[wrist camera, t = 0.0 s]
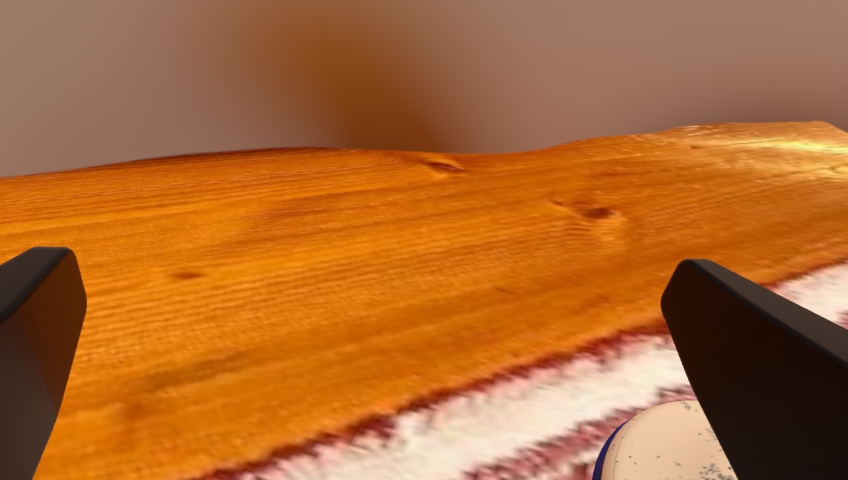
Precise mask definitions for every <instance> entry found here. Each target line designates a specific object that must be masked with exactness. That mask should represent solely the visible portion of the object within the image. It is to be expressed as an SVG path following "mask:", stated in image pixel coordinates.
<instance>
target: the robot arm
mask: <svg viewBox="0 0 848 480" xmlns="http://www.w3.org/2000/svg"><path fill="white" fill-rule="evenodd" d="M86 308H87V298H86V293H85V289H84V285H83V281H82V278H81V274H80V270H79V266H78V263H77V259H76V256H75V254H74V252H73V251H72V250H71V249H69V248H67V247H33V248H31V249H29V250H27V251H25V252H23V253H22V254H20V255H18V256H16V257H14V258H12V259H11V260H9V261H7V262H5V263H3V264H1V265H0V480H32V479H33V477H34V474H35V472H36V469H37V467H38V464H39V462H40V459H41V457H42V455H43V452H44V450H45V447H46V445H47V442H48V440H49V437H50V435H51V432H52V430H53V427H54V424H55V422H56V419H57V416H58V413H59V410H60V406H61V403H62V400H63V396H64V392H65V389H66V385H67V381H68V378H69V374H70V370H71V366H72V363H73V359H74V355H75V352H76V348H77V344H78V340H79V337H80V333H81V329H82V326H83V322H84V318H85V314H86ZM661 311H662V314H663V316H664V319H665V321H666V324H667V326H668V329H669V332H670V334H671V337H672V339H673V342H674V344H675V347H676V349H677V352H678V355H679V357H680V360H681V362H682V365H683V367H684V370H685V373H686V375H687V378H688V380H689V382H690V385H691V387H692V390H693V392H694V394H695V396H696V398H697V400H698V402H699V404H700V406H701V408H702V410H703V412H704V414H705V416H706V418H707V420H708V422H709V424H710V426H711V428H712V430H713V432H714V434H715V436H716V438H717V440H718V442H719V444H720V446H721V448H722V450H723V452H724V454H725V456H726V457H727V459H728V461H729V463H730V465H731V467H732V469H733V471H734V473H735V475H736V477H737V479H738V480H848V330H847V329H845V328H843V327H841V326H839V325H837V324H835V323H833V322H831V321H829V320H827V319H825V318H823V317H821V316H819V315H817V314H815V313H813V312H811V311H809V310H808V309H806V308H804V307H802V306H800V305H798V304H796V303H794V302H792V301H790V300H788V299H786V298H784V297H782V296H780V295H778V294H776V293H774V292H772V291H770V290H768V289H766V288H764V287H762V286H760V285H758V284H756V283H754V282H752V281H750V280H748V279H746V278H744V277H742V276H740V275H738V274H736V273H734V272H732V271H730V270H728V269H726V268H724V267H722V266H720V265H719V264H717V263H715V262H713V261H710V260H707V259H685V260H682V261H681V262H680V263H679V264H678V265H677V267H676V269H675V271H674V273H673V275H672V277H671V279H670V281H669V283H668V285H667V287H666V288H665V290H664V292H663V294H662V297H661Z"/></svg>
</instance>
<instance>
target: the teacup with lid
mask: <svg viewBox="0 0 848 480" xmlns="http://www.w3.org/2000/svg"><path fill="white" fill-rule="evenodd" d="M592 480H738V479H737V477H736V475H735V473H734V471H733V469H732V467H731V465H730V463H729V461H728V459H727V457H726V456H725V454H724V452H723V450H722V448H721V446H720V444H719V442H718V440H717V438H716V436H715V434H714V432H713V430H712V428H711V426H710V424H709V422H708V420H707V418H706V416H705V414H704V412H703V410H702V408H701V406H700V404H699V402H698V401H677V402H671V403H666V404H662V405H658V406H655V407H652V408H649V409H647V410H645V411H643V412H640V413H639V414H637V415H636V416H634V417H632V418H631V419H629V420H627V421H626V422H624V423H623V424H622V425H621V426H620V427H618V428H617V429H616V430H615V431H614V432H613V434H612V435H611V436H610V437H609V438H608V440H607V441H606V443H605V444H604V446H603V448H602V449H601V452H600V454H599V456H598V459H597V461H596V465H595V468H594V472H593V477H592Z"/></svg>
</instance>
